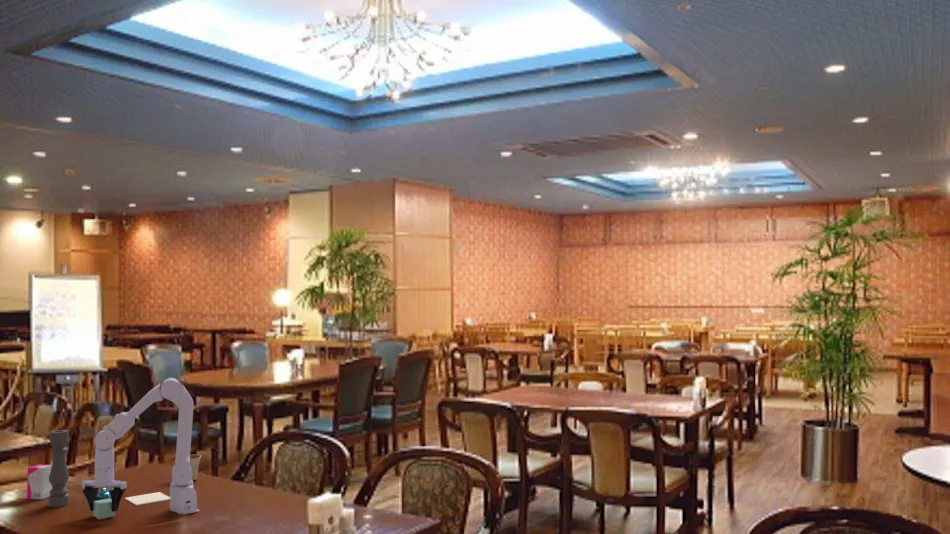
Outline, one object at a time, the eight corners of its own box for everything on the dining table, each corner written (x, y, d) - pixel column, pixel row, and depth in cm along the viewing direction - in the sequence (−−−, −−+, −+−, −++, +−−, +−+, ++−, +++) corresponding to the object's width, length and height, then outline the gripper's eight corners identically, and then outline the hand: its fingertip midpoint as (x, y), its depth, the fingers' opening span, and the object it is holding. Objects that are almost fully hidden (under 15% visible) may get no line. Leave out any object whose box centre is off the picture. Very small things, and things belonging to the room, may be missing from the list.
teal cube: (114, 516, 256) (114, 501, 257) (98, 519, 253) (98, 504, 253) (109, 513, 260) (109, 498, 260) (93, 516, 257) (93, 501, 257)
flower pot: (196, 482, 302) (196, 459, 302) (171, 482, 302) (171, 459, 303) (204, 476, 312) (205, 454, 312) (181, 476, 312) (181, 454, 312)
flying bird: (108, 493, 288) (108, 482, 288) (124, 494, 286) (124, 483, 286) (77, 504, 273) (77, 492, 273) (94, 505, 271) (94, 494, 272)
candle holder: (60, 508, 266) (60, 433, 267) (44, 507, 268) (44, 432, 268) (73, 503, 272) (73, 430, 273) (57, 502, 274) (57, 429, 274)
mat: (171, 499, 277) (171, 498, 277) (136, 505, 269) (136, 504, 269) (159, 493, 286) (159, 491, 286) (124, 498, 278) (124, 497, 278)
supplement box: (52, 496, 282) (53, 464, 282) (42, 501, 276) (42, 467, 276) (37, 496, 282) (37, 463, 283) (26, 500, 277) (26, 467, 277)
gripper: (132, 465, 260) (131, 507, 259) (91, 464, 262) (91, 506, 262) (119, 470, 253) (119, 513, 252) (77, 469, 255) (77, 512, 255)
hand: (104, 510), depth 257 cm, fingers open, 7 cm apart
